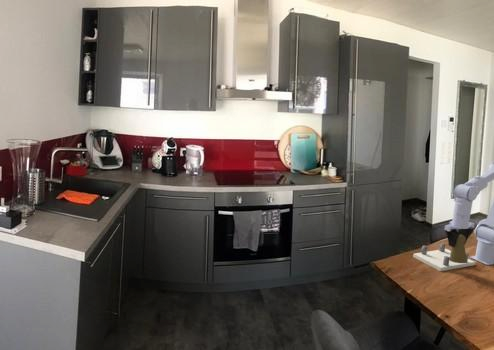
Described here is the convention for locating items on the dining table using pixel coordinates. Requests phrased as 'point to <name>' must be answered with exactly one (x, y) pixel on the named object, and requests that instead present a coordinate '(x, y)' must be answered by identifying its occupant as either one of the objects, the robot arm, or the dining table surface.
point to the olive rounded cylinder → (459, 251)
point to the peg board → (440, 259)
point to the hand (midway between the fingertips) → (456, 245)
